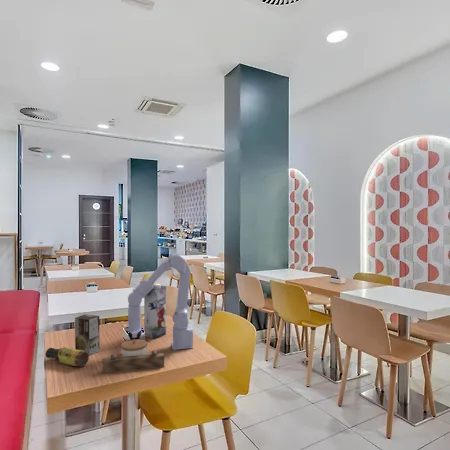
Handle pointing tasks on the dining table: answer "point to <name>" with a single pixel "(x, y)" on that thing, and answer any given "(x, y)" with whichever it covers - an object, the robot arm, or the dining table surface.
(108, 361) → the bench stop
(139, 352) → the lidded jar
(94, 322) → the coffee box
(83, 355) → the sauce bottle
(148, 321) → the juice carton
